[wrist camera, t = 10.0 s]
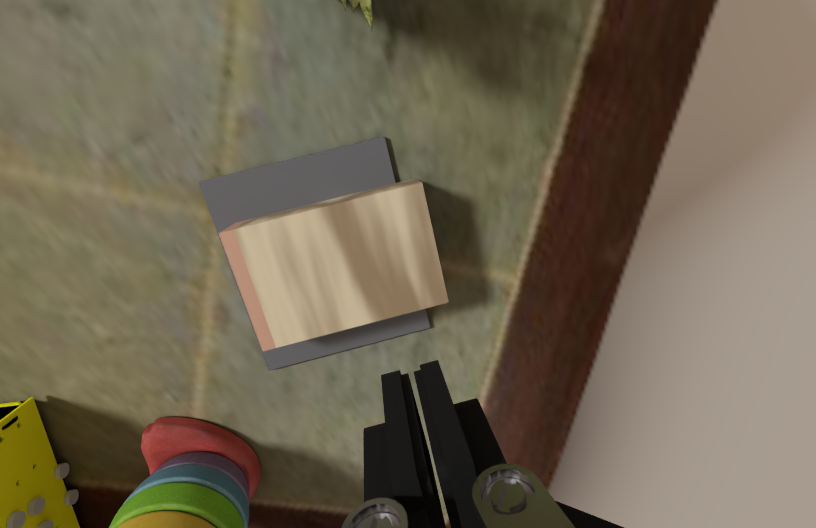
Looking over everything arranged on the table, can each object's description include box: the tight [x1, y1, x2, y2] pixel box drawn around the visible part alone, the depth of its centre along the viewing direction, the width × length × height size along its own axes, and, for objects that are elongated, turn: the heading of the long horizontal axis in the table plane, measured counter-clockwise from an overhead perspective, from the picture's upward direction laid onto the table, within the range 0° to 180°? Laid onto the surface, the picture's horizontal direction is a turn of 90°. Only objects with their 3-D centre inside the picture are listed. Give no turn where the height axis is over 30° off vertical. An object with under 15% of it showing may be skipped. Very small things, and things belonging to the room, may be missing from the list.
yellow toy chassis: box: [0, 397, 80, 528], centre depth 32 cm, size 16×6×8 cm, turn 4°
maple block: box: [219, 178, 449, 351], centre depth 32 cm, size 4×9×14 cm
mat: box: [199, 137, 430, 370], centre depth 34 cm, size 14×16×1 cm
